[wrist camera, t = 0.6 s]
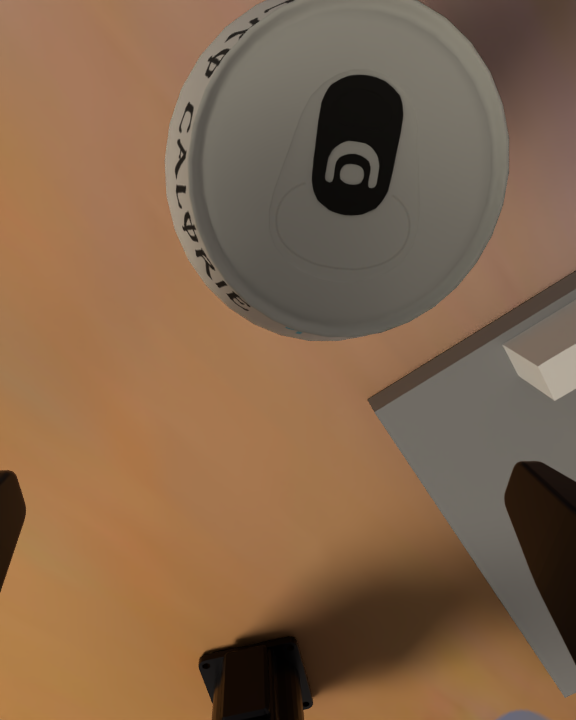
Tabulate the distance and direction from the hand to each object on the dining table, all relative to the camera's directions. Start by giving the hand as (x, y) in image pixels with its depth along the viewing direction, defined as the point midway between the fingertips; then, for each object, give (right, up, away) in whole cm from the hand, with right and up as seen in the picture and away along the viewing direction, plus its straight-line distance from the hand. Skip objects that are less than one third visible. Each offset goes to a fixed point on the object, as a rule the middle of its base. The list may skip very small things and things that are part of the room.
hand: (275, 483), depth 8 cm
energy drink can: (0, +10, +13) cm, 16 cm away
